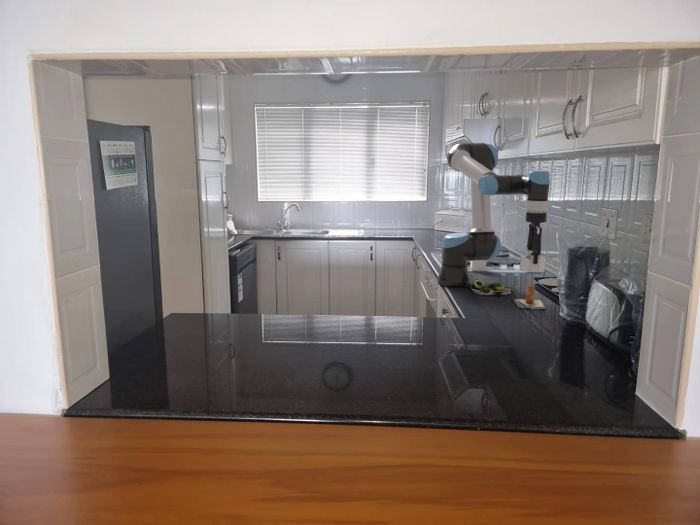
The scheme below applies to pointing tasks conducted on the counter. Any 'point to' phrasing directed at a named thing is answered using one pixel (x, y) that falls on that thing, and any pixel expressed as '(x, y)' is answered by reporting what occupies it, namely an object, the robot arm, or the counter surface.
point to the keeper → (531, 298)
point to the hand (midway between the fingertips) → (532, 269)
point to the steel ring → (526, 263)
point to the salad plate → (489, 287)
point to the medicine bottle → (478, 265)
